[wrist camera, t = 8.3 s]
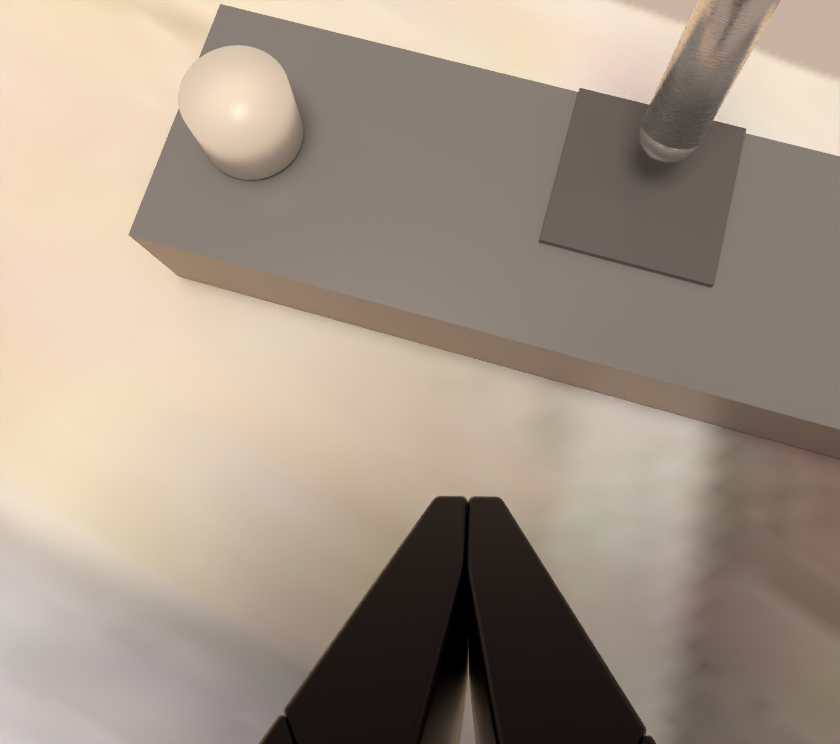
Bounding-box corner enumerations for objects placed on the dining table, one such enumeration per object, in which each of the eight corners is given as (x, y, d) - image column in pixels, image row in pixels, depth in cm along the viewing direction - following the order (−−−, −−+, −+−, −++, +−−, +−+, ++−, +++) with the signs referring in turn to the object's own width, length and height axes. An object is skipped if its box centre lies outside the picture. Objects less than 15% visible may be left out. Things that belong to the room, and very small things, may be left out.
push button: (285, 190, 17) (268, 157, 15) (188, 165, 17) (161, 129, 16) (316, 101, 18) (304, 60, 16) (222, 78, 18) (200, 33, 16)
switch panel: (996, 502, 19) (1132, 507, 15) (178, 276, 21) (125, 232, 17) (1021, 273, 20) (1151, 228, 17) (252, 78, 22) (218, -2, 18)
